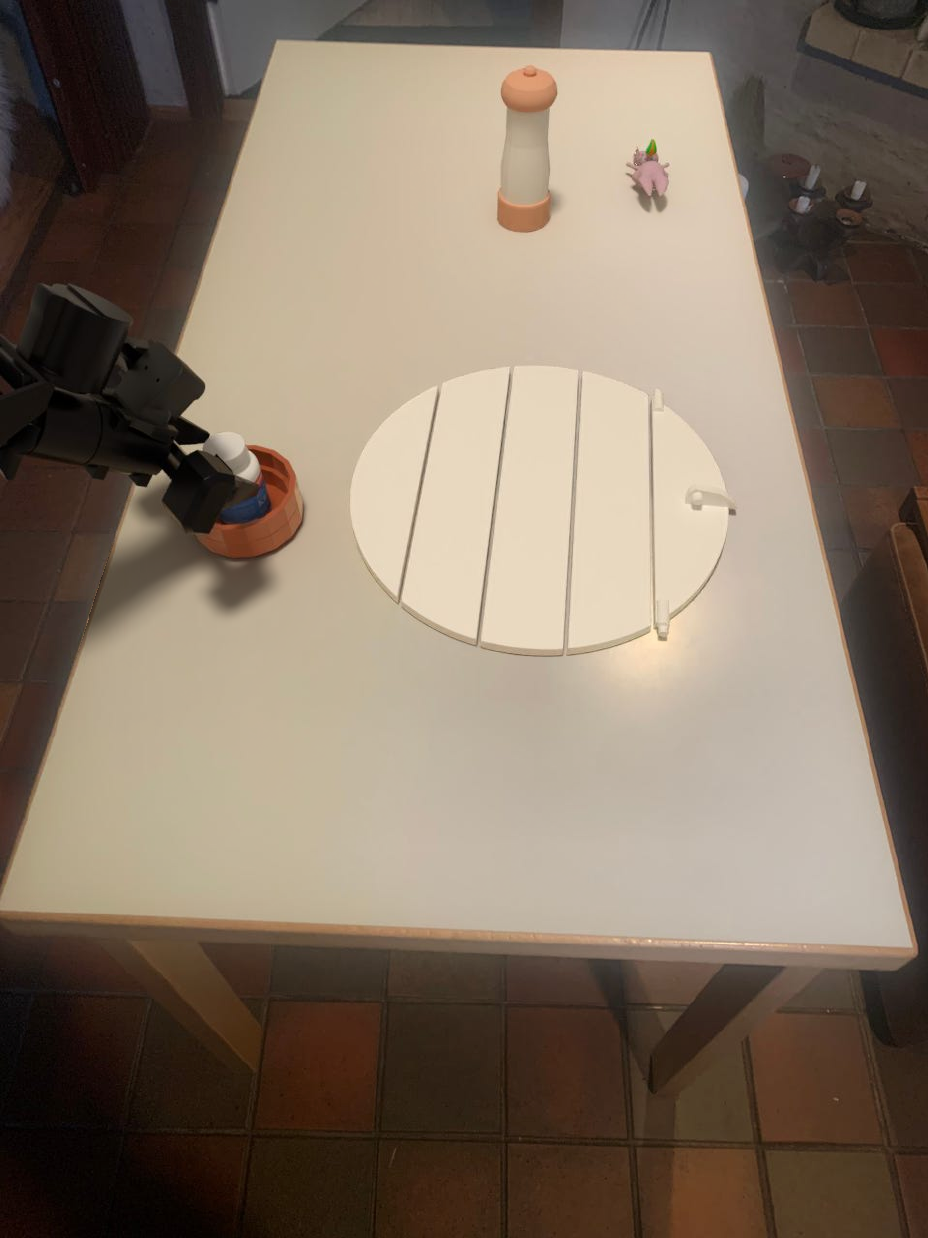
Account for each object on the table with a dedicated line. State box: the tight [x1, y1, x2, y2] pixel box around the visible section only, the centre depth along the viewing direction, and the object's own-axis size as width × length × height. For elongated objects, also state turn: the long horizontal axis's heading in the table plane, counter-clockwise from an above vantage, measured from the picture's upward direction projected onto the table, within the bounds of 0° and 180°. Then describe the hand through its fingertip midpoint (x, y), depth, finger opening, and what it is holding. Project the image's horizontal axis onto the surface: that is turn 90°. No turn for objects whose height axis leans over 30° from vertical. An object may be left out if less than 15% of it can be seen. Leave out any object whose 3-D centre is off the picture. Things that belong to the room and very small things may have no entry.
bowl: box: [195, 444, 304, 559], centre depth 85 cm, size 11×11×5 cm
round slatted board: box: [349, 365, 738, 657], centre depth 87 cm, size 40×39×3 cm
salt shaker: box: [496, 64, 558, 233], centre depth 110 cm, size 7×7×19 cm
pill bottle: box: [202, 431, 272, 525], centre depth 83 cm, size 6×5×10 cm
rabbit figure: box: [625, 138, 670, 197], centre depth 119 cm, size 6×6×15 cm
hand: (232, 463), depth 81 cm, fingers open, 9 cm apart
